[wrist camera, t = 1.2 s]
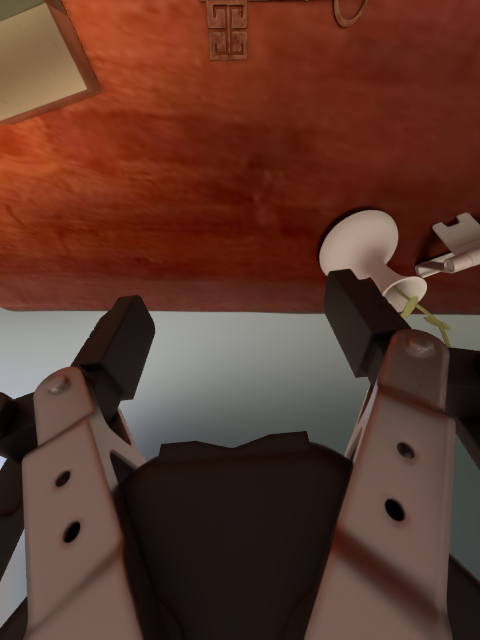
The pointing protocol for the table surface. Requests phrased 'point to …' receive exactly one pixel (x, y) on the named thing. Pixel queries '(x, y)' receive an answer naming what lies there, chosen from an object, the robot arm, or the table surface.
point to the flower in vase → (375, 260)
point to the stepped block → (40, 60)
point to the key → (245, 26)
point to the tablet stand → (455, 247)
